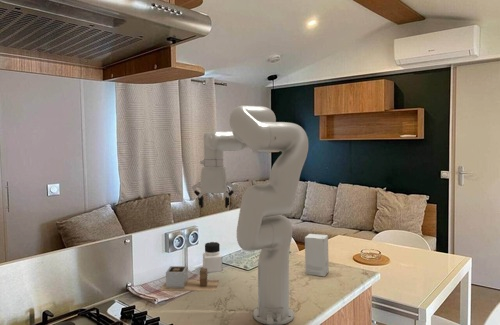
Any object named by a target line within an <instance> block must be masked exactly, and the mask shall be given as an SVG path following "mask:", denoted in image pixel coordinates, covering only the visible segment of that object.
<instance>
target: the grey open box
mask: <svg viewBox="0 0 500 325" xmlns="http://www.w3.org/2000/svg"><path fill="white" fill-rule="evenodd" d="M174 268H181V272H173V269H174ZM188 272H189V270H188V266H181V265H180V266H177V265H172V266H171V265H170V266H169V267H168V269H167V270H166V272H165V282H166V289H184V288H185V286H186V284H187V283H188V280H189V278H188V277H189V274H188Z"/></svg>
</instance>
